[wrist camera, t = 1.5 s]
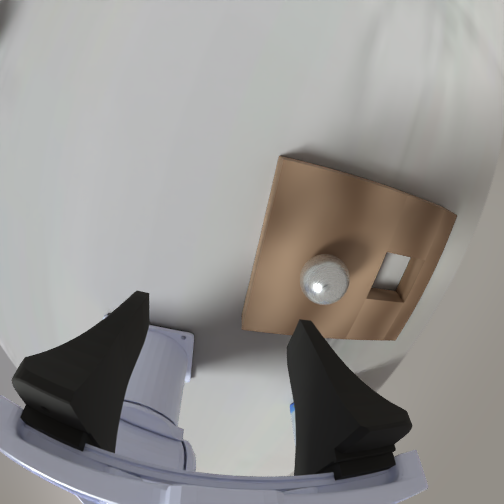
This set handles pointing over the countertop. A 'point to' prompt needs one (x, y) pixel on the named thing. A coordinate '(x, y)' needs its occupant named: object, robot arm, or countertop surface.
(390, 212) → the hole plate
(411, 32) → the countertop surface
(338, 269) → the steel ball
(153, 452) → the robot arm
